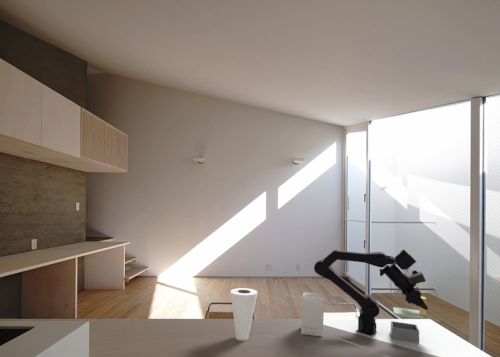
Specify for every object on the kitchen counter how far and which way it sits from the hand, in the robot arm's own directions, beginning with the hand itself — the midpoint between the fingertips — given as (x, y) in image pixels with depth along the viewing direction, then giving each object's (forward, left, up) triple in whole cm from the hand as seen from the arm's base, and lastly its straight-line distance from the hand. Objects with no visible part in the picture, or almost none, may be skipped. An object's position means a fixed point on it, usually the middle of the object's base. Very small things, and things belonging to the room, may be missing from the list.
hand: (426, 307), depth 143 cm
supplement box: (-35, -29, -14) cm, 47 cm away
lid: (-6, -3, -4) cm, 8 cm away
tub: (-7, -4, -13) cm, 16 cm away
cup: (-48, -57, -14) cm, 76 cm away
